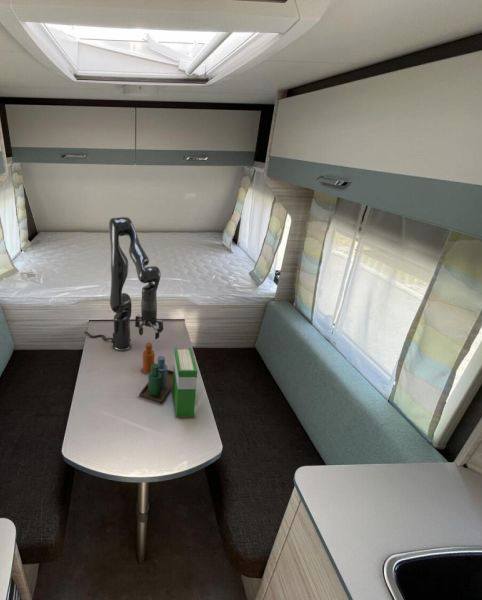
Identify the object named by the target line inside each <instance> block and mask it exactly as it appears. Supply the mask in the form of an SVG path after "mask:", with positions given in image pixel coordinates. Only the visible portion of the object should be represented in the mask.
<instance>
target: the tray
mask: <svg viewBox="0 0 482 600" xmlns="http://www.w3.org/2000/svg"><path fill="white" fill-rule="evenodd" d="M173 372H174V370H171V369H167V387H166V388H165V389H162V390H161V396H160V397H159V398H154V397H151V396H149V395H148V382H147V383H146V385H144V387H143V388H142V389H141V391H140V393H139V394H138V395H139V396H138V397H140V398H143V399H146V400H149V401H152V402H154V403H157V404H160V405H162V404H163V402H164V401H165V400H166V398H167V396H168V395H169V393H171V390H173Z"/></svg>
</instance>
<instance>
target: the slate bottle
mask: <svg viewBox="0 0 482 600" xmlns="http://www.w3.org/2000/svg"><path fill="white" fill-rule="evenodd" d="M157 364H158V365H159V372H160V373H161V390H162V389H165V388H166V387H167V370H168V365H167V364H166V357H165V356H163V355H159V356H158V357H157Z"/></svg>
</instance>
